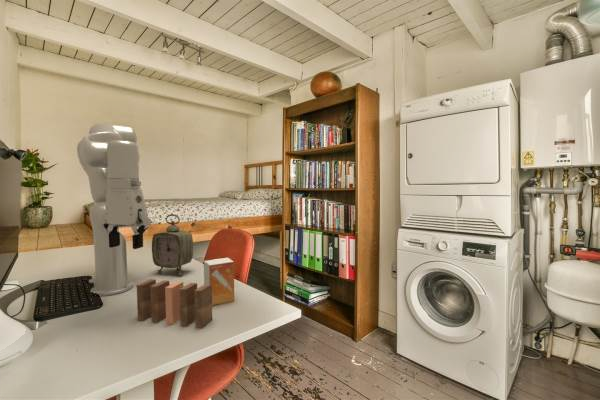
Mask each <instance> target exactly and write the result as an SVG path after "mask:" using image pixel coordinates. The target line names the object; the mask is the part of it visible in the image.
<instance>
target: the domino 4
mask: <svg viewBox="0 0 600 400" xmlns="http://www.w3.org/2000/svg"><path fill="white" fill-rule="evenodd" d="M183 286H184V287H182V288H180V320H179V321H180V324H179V325H180V326H181V327H189V326H190V325H191V324H193V323H195V290H196V289H198V283H197V282H189V283H187V284H186V285H183Z"/></svg>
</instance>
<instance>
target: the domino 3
mask: <svg viewBox="0 0 600 400" xmlns="http://www.w3.org/2000/svg"><path fill="white" fill-rule="evenodd" d="M184 286H185V285H184V281H178V280H176V281H175V282H173V283H171V284H169V286H167V287H165V300H166V318H165V324H166V325H174V324H176V323H177V322H178V321H180V288H182V287H184Z"/></svg>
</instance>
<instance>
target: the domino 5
mask: <svg viewBox="0 0 600 400" xmlns="http://www.w3.org/2000/svg"><path fill="white" fill-rule="evenodd" d="M212 321H213V306H212V284H204V283H203V284H202V285H201V286H199V287H197V289H196V290H195V321H194V323H195V324H194V325H195V329H196V328H197V329H204V328H205V327H206V326H207V325H209V324H210V323H211V322H212Z"/></svg>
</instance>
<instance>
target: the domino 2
mask: <svg viewBox="0 0 600 400" xmlns="http://www.w3.org/2000/svg"><path fill="white" fill-rule="evenodd" d="M169 285H170V280H168V279H167V280H165V279H163V280H160V281H159V282H156V284H154V285H152V286H151V316H152V317H151V323H156V324H158V323H160V322H161V321H163V320H164V319H165V320H166V300H165V287H167V286H169Z"/></svg>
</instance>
